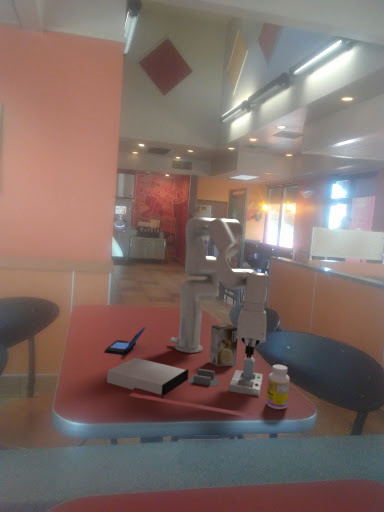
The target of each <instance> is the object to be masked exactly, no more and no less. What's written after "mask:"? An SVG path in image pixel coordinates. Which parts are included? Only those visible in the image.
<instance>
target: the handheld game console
mask: <svg viewBox="0 0 384 512" xmlns="http://www.w3.org/2000/svg"><path fill="white" fill-rule="evenodd" d="M145 329H146V327H145V326H143V328H142V329H141V330H140V331H138V333H136V334H135V335H134V337H133V338H132V339H131V341H128V340H121V339H120V340H119V339H118V340H117V339H116V340H114V341H113V342H112V344H110V345H109V346H108V347H107V348H105V353H108V352H110V353H109V354H115V353H118V355H124V356H125V355H127V354H128V353H127V352H128V351H129V352H130V350H132V349H133V348H134V347H135V346H136V345H137V341H138V339H139V338H140V337H141V335H142V334H143V332H144V331H145Z"/></svg>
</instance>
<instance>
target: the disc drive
mask: <svg viewBox="0 0 384 512" xmlns="http://www.w3.org/2000/svg"><path fill="white" fill-rule="evenodd" d="M189 372H190V371H189V369H187V368H186V369H183V368H180V367H177V366H171V365H168V364H163V363H159V362H154V361H151V360H148V359H143V358H138V357H134V358H132V359H130V360H128V361H125V362H123V363H121V364H119V365H116V366H114V367H112V368H110V369H107V377H106V378H107V379H106V383H108V384H111V385H116V386H117V387H121V388H125V389H128V390H132V391H133V390H135V388H136V389H140V390H143V391H146V392H151V393H153V394H157V395H159V398H161V399H164V397H161V396H165V395H166V394H168V393H169V392H171V391H173V390H174V389H175V388H177V387H179V386H180V385H182V384H184V382H186V381H187V380H189ZM160 395H161V396H160Z"/></svg>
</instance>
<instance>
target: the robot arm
mask: <svg viewBox="0 0 384 512" xmlns="http://www.w3.org/2000/svg"><path fill="white" fill-rule="evenodd" d="M184 231H185V232H184V233H185V241H186V252H185V267H184V269H185V274H186V275H188V276H189V277H197V278H198V277H201V278H202V277H203V278H204V279H199V278H198V279H197V278H196V279H195V278H192V279H186V280H184V281H183V282H181V284H180V286H179V294H180V295H179V296H180V316H179V328H178V329H179V330H178V331H179V332H178V337H174V336H173V337H172V336H171V337H169V342H170V343H171V344H172V343H173V344H175V345H174V350H176V351H179V352H182V353H187V354H189V353H190V354H193V353H200V352H202V351H203V346H202V345H201V344H200V341H201V328H202V314H203V313H202V312H203V310H202V307H201V306H200V304H199V302H200V301H212V300H215V298H217V296H218V292H219V281H220V283H221V284H222V285H223V287H224V288H226V289H228V290H244V297H243V301H239V306H240V307H242V308H241V309H240V311H239V314H238V320H237V326H236V327H237V335H236V338H237V340H238V341H242V343H243V344H244V346H245V351H244V352H245V353H244V354H245V355H246V358H247V357H249V358H251V357H252V356H254V354H255V347H256V346H257V345H259V344H264V343H266V340H267V338H266V334H267V311H266V310H265V306H266V296H267V284H268V275H267V274H266V273H264V272H259V271H256V270H254V269H251V268H232V267H231V266H230V264H229V262H228V259H230V258H232V257H234V256H235V255H236V254H237V253H238V252H239V250H240V244H239V243H238V240H239V239H240V238H241V237H242V235H243V231H244V229H243V226H242V224H241V222H240V221H238V220H237V219H232V218H222V217H209V216H207V217H206V216H195V217H192V218H190V219H188V220H187V222H186V225H185V229H184ZM203 238H211V240H212V241H213V244H214V245H215V248H216V250H217V252H218V255H217V257H215V256H213V255H206V250H207V249H206V247H207V245H206V243H205V240H204V239H203ZM250 340H251V343H250Z"/></svg>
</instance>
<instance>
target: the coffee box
mask: <svg viewBox="0 0 384 512" xmlns="http://www.w3.org/2000/svg"><path fill="white" fill-rule="evenodd" d="M236 335H237V326H234V325H232V324H218V325H216V324H215V325H211V334H210V347H209V348H210V350H209V359H208V360H209V363H211V364H213V365H214V366H216V367H224V366H228V367H229V366H231V367H236V364H237V353H238V350H237V349H238V339H237V338H236Z"/></svg>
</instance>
